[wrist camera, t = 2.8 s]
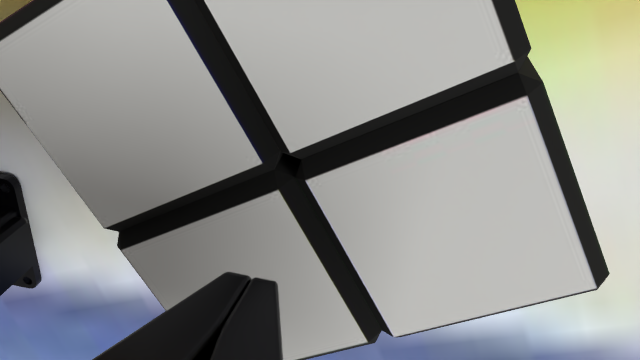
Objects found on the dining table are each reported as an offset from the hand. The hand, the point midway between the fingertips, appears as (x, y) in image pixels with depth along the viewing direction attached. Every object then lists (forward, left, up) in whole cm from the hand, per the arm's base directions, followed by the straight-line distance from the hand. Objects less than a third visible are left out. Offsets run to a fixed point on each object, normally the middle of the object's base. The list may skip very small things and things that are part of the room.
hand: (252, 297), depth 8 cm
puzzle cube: (0, +1, -13) cm, 13 cm away
